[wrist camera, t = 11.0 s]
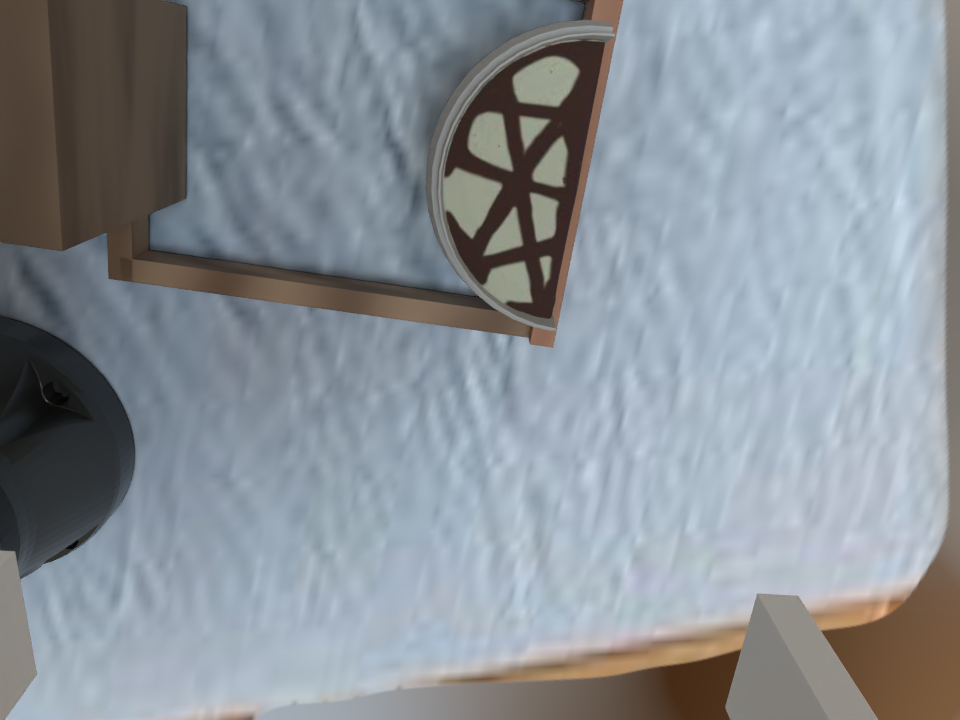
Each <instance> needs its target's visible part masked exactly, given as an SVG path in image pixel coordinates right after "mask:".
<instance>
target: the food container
mask: <svg viewBox="0 0 960 720" xmlns="http://www.w3.org/2000/svg"><path fill="white" fill-rule="evenodd" d="M612 31H613V26H612V25H611V24H610V23H609V22H608V21H594V20H577V21H566V22H557V23H554V24H550V25H546V26H543V27H539V28H535V29H532V30H530V31H528V32H526V33H523V34H521V35H519V36H517V37H515V38H512V39H510V40H508V41H507V42H505V43H504V44H502V45H501V46H500V47H498V48H497V49H495V50H494V51H492V52H491V53H489V54H488V55H487V56H485V57H484V58H483V59H482V60H481V61H480V62H479V63H478V64H477V65H476V66H475V67H474V68H473V69H472V70H470V71H469V72H468V74H467V75H466V76H465V78H464V79H463V80H462V81H461V83H460V84H459V85H458V86H457V88H456V89H455V90H454V92H453V93H452V95H451V97H450V98H449V100H448V102H447V104H446V106H445V107H444V109H443V111H442V113H441V115H440V117H439V120H438V123H437V125H436V128H435V131H434V134H433V136H432V139H431V144H430V149H429V155H428V160H427V171H426V193H427V202H428V211H429V214H430V218H431V222H432V225H433V229H434V232H435V235H436V237H437V240H438V242H439V244H440V246H441V248H442V251H443V253H444V255H445V256H446V258H447V259H448V261H449V262H450V264H451V265H452V267H453V268H454V270H455V271H456V273H457V274H458V275H459V276H460V277H461V279H462V280H463V281H464V282H465V283H466V284H467V285H468V286H469V287H470V288H471V289H472V290H473V291H474V292H475V293H476V294H477V295H478V296H479V297H480V298H482V299H483V300H484V301H485V302H487V303H488V304H489V305H490V306H492V307H493V308H494V309H496V310H498V311H500V312H501V313H503V314H505V315H506V316H508V317H510V318H512V319H514V320H517V321H519V322H522V323H524V324H527V325H529V326H532V327H536V328H541V329H545V330H549V331H553V330H556V326H555V322H554V317H553V308H554V305H555V301H556V290H557V285H558V279H559V275H560V270H561V265H562V260H563V255H564V250H565V245H566V240H567V235H568V231H569V226H570V222H571V217H572V212H573V208H574V203H575V199H576V194H577V190H578V184H579V178H580V172H581V167H582V161H583V155H584V150H585V145H586V140H587V135H588V130H589V124H590V119H591V114H592V109H593V104H594V99H595V94H596V89H597V84H598V79H599V73H600V68H601V63H602V57H603V52H604V47H605V44H606V43H607V42H608V41H610V40H611V39H612V38H613V37H614V36H615V34H612Z"/></svg>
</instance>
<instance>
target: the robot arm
mask: <svg viewBox="0 0 960 720" xmlns="http://www.w3.org/2000/svg"><path fill="white" fill-rule="evenodd" d="M133 469H134V443H133V436H132V432H131V428H130V425H129V422H128V419H127V417H126V414H125V412H124V409H123V407H122V405H121V403H120V402H119V400H118V398H117V396H116V395H115V393H114V392H113V390H112V389H111V387H110V386H109V384H108V383H107V382H106V381H105V379H104V378H103V377H102V376H101V375H100V373H99V372H98V371H97V370H96V369H95V368H94V367H93V366H92V365H91V364H90V363H89V362H88V361H87V360H85V359H84V358H83V357H82V356H81V355H80V354H78V353H77V352H76V351H74V350H73V349H72V348H70V347H69V346H68V345H66V344H65V343H63V342H62V341H60V340H58V339H56V338H55V337H53V336H51V335H49V334H47V333H45V332H44V331H41V330H39V329H37V328H35V327H32V326H30V325H27V324H24V323H21V322H18V321H15V320H11V319H7V318H3V317H0V720H5V718H6V717H7V716H8V714H9V713H10V711H11V710H12V709H13V707H14V706H15V704H16V703H17V702H18V700H19V699H20V697H21V696H22V695H23V693H24V692H25V690H26V689H27V688H28V686H29V685H30V683H31V682H32V681H33V679H34V678H35V676H36V675H37V671H36V666H35V660H34V654H33V649H32V643H31V638H30V632H29V626H28V621H27V615H26V610H25V604H24V598H23V593H22V587H21V582H20V579H21V578H23V577H25V576H27V575H28V574H30V573H32V572H34V571H35V570H37V569H38V568H40V567H41V566H42V565H43V564H45V563H48V562H51V561H54V560H56V559H58V558H61V557H63V556H65V555H67V554H68V553H70V552H72V551H74V550H75V549H77V548H79V547H80V546H81V545H83V544H84V543H85V542H87V541H88V540H89V539H90V538H91V537H92V536H94V535H95V534H96V533H97V532H98V530H99V529H100V528H101V527H102V526H103V525H104V523H105V522H106V521H107V520H108V519H109V517H110V516H111V515H112V514H113V513H114V511H115V510H116V509H117V508H118V506H119V505H120V503H121V502H122V500H123V499H124V497H125V495H126V493H127V491H128V488H129V486H130V482H131V479H132V475H133ZM725 708H726V710H727V713H728V715H729V717H730V720H878V719H877V717H876V716H875V714H874V713H873V711H872V709H871V708H870V706H869V705H868V703H867V702H866V700H865V699H864V697H863V696H862V694H861V692H860V691H859V689H858V688H857V686H856V685H855V683H854V682H853V680H852V679H851V677H850V675H849V674H848V672H847V671H846V669H845V668H844V666H843V665H842V663H841V662H840V660H839V658H838V657H837V655H836V654H835V652H834V651H833V649H832V647H831V646H830V645H829V643H828V641H827V640H826V638H825V637H824V636H823V634H822V632H821V630H820V629H819V627H818V626H817V624H816V623H815V621H814V620H813V618H812V617H811V615H810V613H809V612H808V610H807V609H806V607H805V606H804V604H803V603H802V601H801V599H800V598H799V596H790V595H772V594H757V597H756V600H755V604H754V607H753V611H752V614H751V618H750V622H749V625H748V629H747V632H746V636H745V639H744V643H743V646H742V650H741V654H740V657H739V661H738V664H737V668H736V672H735V675H734V678H733V682H732V686H731V689H730V693H729V696H728V700H727V703H726V707H725Z"/></svg>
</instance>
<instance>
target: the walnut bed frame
mask: <svg viewBox="0 0 960 720" xmlns="http://www.w3.org/2000/svg"><path fill="white" fill-rule="evenodd" d="M573 1H579V2H584V3H586V4H585V9H584V14H583V20H594V21H608V22H609V23H610V24H611V25H612V26H613V31H612V34H615V36H614V37H613V38H612V39H611V40H610V41H608V42H607V43H606V44H605V47H604V52H603V57H602V63H601V68H600V73H599V79H598V84H597V89H596V94H595V99H594V104H593V109H592V114H591V119H590V124H589V130H588V135H587V140H586V145H585V150H584V155H583V161H582V167H581V172H580V178H579V184H578V190H577V194H576V199H575V203H574V208H573V212H572V217H571V222H570V226H569V231H568V235H567V240H566V245H565V250H564V255H563V260H562V265H561V270H560V275H559V279H558V285H557V290H556V301H555V305H554V308H553V317H554V322H555V326H556V330H557V325H558V320H559V315H560V310H561V305H562V300H563V295H564V290H565V285H566V281H567V276H568V271H569V266H570V261H571V256H572V251H573V246H574V241H575V236H576V231H577V226H578V221H579V216H580V211H581V206H582V201H583V197H584V192H585V187H586V182H587V177H588V172H589V167H590V162H591V157H592V152H593V147H594V142H595V137H596V132H597V127H598V122H599V117H600V112H601V108H602V103H603V98H604V93H605V88H606V83H607V78H608V73H609V68H610V63H611V58H612V53H613V48H614V43H615V38H616V33H617V28H618V24H619V19H620V14H621V9H622V4H623V0H573ZM184 199H186V6H183V5H179V4H175V3H171V2H167V1H163V0H0V242H2V243H9V244H16V245H23V246H30V247H37V248H44V249H51V250H58V251H64V250H66V249H68V248H71V247H73V246H76V245H78V244H80V243H83V242H85V241H87V240H90V239H92V238H94V237H97V236H99V235H101V234H104V233H106V232H107V245H108V272H109V279H115V280H122V281H129V282H136V283H143V284H151V285H158V286H165V287H172V288H179V289H186V290H193V291H200V292H208V293H215V294H222V295H229V296H236V297H243V298H250V299H257V300H264V301H272V302H279V303H286V304H293V305H300V306H307V307H314V308H321V309H329V310H336V311H343V312H350V313H357V314H364V315H371V316H378V317H386V318H393V319H400V320H407V321H414V322H421V323H428V324H435V325H443V326H450V327H457V328H464V329H471V330H478V331H485V332H492V333H499V334H507V335H514V336H521V337H528V338H529V342H530V344H533V345H540V346H547V347H553V345H554V340H555V335H556V330H553V331H549V330H545V329H541V328H536V327H532V326H529V325H527V324H524V323H522V322H519V321H517V320H514V319H512V318H510V317H508V316H506V315H505V314H503V313H501V312H500V311H498V310H496V309H494V308H493V307H492V306H490V305H489V304H488V303H487V302H485V301H484V300H483V299H482V298H479V297H472V296H465V295H458V294H451V293H444V292H437V291H430V290H423V289H416V288H409V287H402V286H395V285H388V284H381V283H375V282H368V281H361V280H354V279H347V278H340V277H333V276H326V275H319V274H312V273H305V272H298V271H291V270H284V269H277V268H270V267H263V266H256V265H249V264H242V263H235V262H228V261H221V260H214V259H207V258H200V257H193V256H186V255H179V254H172V253H165V252H159V251H152V250H149V218H148V214H151V213H153V212H155V211H158V210H160V209H162V208H165V207H167V206H170V205H172V204H174V203H177V202H179V201H181V200H184Z"/></svg>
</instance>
